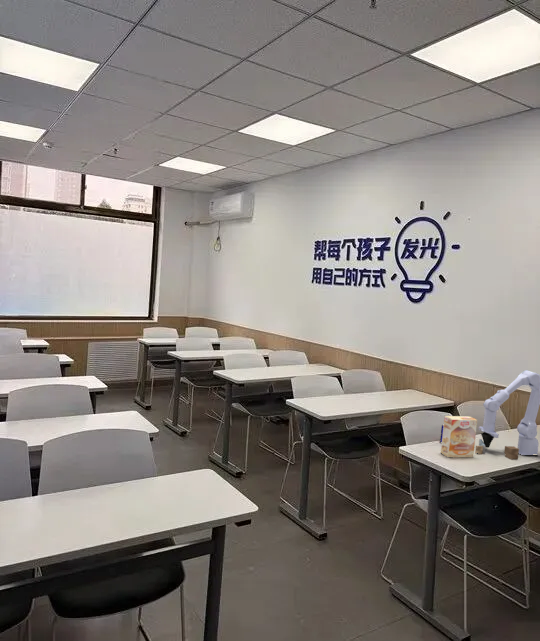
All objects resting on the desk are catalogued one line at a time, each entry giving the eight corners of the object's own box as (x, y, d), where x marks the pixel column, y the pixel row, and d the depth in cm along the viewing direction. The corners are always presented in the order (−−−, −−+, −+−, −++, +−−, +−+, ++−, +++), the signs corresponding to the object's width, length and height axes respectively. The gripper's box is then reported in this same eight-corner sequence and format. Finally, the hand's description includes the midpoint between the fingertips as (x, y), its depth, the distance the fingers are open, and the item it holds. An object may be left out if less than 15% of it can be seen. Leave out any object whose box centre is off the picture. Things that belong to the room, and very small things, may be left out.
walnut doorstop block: (512, 456, 268) (513, 446, 267) (517, 459, 264) (518, 448, 263) (504, 456, 267) (506, 446, 266) (509, 459, 263) (511, 448, 262)
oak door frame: (505, 453, 272) (506, 446, 272) (507, 454, 270) (508, 447, 270) (474, 453, 269) (475, 445, 268) (476, 454, 267) (477, 446, 267)
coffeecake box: (448, 457, 257) (452, 419, 256) (439, 453, 264) (443, 415, 262) (474, 457, 261) (478, 419, 260) (465, 452, 268) (469, 415, 266)
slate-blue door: (485, 453, 268) (485, 446, 268) (482, 453, 268) (483, 445, 268) (481, 446, 281) (481, 439, 280) (478, 446, 281) (479, 438, 281)
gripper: (474, 418, 280) (471, 442, 281) (491, 425, 266) (488, 451, 266) (486, 418, 281) (483, 443, 282) (503, 426, 267) (500, 451, 268)
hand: (486, 447), depth 274 cm, fingers closed
